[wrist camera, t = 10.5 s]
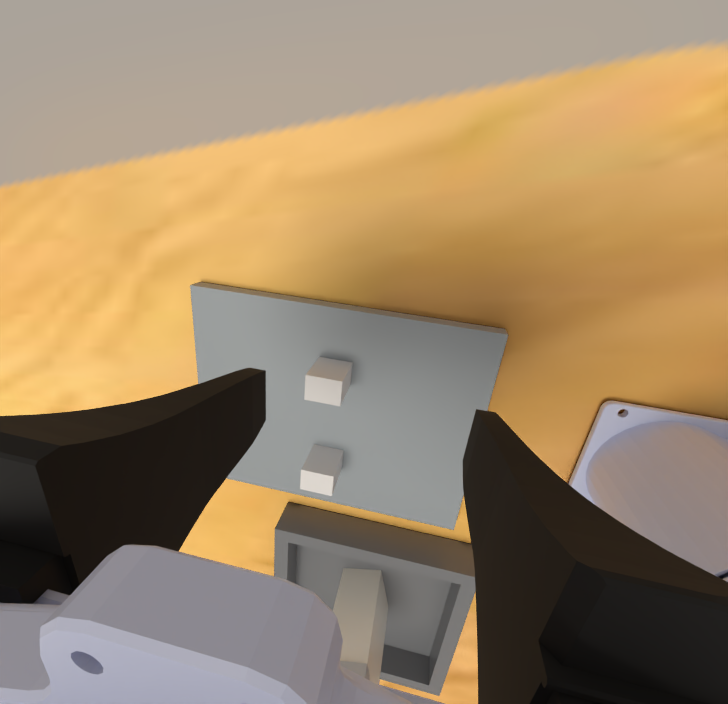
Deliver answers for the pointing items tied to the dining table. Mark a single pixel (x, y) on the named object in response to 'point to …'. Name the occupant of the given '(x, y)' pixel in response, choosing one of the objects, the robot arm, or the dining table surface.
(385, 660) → the parts tray
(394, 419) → the panel
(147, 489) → the robot arm
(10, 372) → the dining table surface
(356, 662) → the block
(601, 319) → the dining table surface
